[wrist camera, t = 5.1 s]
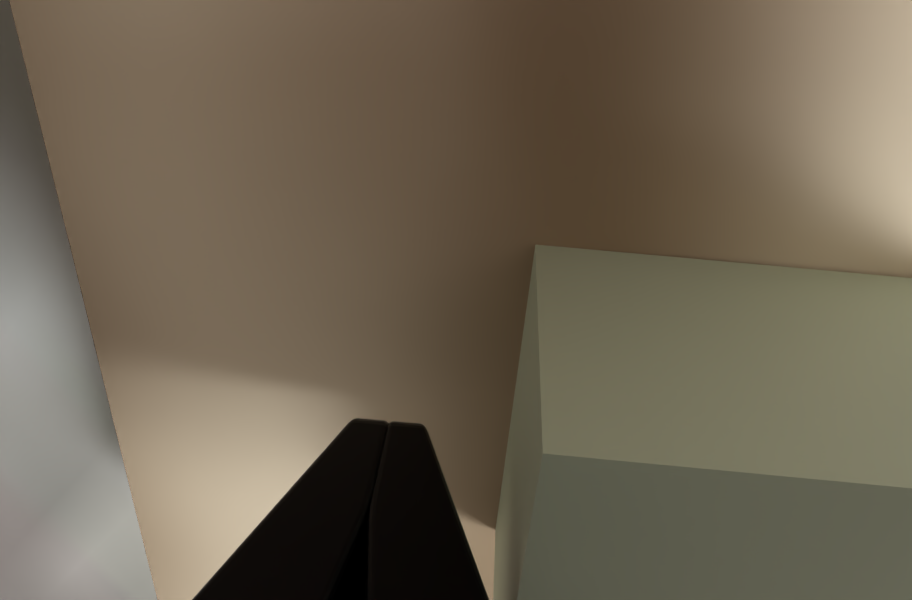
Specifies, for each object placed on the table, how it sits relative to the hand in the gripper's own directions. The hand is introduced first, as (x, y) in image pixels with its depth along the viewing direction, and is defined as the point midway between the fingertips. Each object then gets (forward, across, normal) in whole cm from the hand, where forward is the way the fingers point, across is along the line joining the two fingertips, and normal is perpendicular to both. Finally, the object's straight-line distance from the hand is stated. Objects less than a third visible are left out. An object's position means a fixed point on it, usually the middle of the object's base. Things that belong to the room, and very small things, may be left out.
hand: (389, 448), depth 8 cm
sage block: (+1, -4, 0) cm, 4 cm away
